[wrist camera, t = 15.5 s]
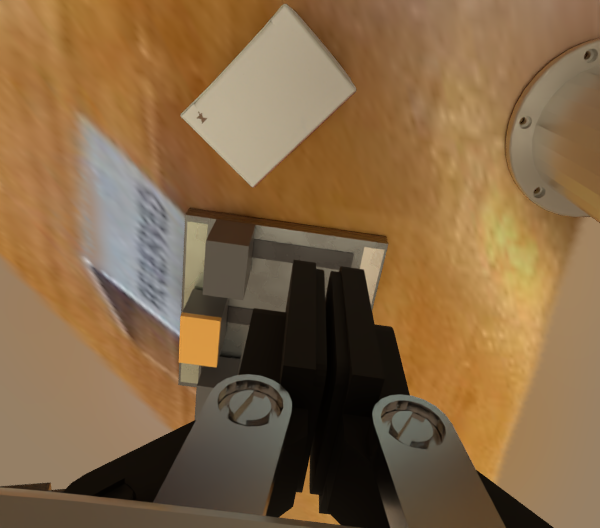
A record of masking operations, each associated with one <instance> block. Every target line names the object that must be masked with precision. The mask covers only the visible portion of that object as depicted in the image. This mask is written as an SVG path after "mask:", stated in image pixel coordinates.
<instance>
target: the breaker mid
mask: <svg viewBox="0 0 600 528" xmlns="http://www.w3.org/2000/svg"><path fill="white" fill-rule="evenodd" d="M202 294H203V290H196V289H193V290H192V292H191V294H190V297H189V299H188V301H187V303H186V305H185V307H184V310H183V312H182V314H181V318H180V343H179V363H186V364H194V365H201V366H209V367H216V368H217V364H218V361H219V357H220V354H221V350H222V347H223V343H224V340H225V334H226V323H227V312H228V300H229V298H223V297H215V296H208V295H202Z"/></svg>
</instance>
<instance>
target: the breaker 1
mask: <svg viewBox="0 0 600 528" xmlns="http://www.w3.org/2000/svg"><path fill="white" fill-rule="evenodd" d="M254 233H255V224H249V223H242V222H235V221H228V220H221V219H216V221H215V223H214V225H213V227H212V229H211V231H210V233H209V235H208V237H207V239H206V246H205V262H204V278H203V294H202V295H208V296H215V297H223V298H230V299H237V300H243V299H244V295H245V291H246V288H247V284H248V280H249V276H250V270H251V260H252V251H253V242H254Z"/></svg>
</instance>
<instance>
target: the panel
mask: <svg viewBox="0 0 600 528" xmlns="http://www.w3.org/2000/svg"><path fill="white" fill-rule="evenodd" d="M216 219H221V220H228V221H235V222H242V223H249V224H255V233H254V242H253V251H252V260H251V270H250V276H249V280H248V284H247V288H246V291H245V295H244V299H243V300H237V299H230V298H229V300H228V312H227V323H226V334H225V340H224V343H223V347H222V350H221V354H220V357H227V358H235V359H241V361H240V367H241V362H242V357H243V353H244V348H245V344H246V339H247V335H248V330H249V326H250V321H251V317H252V312H253V309H254V308H258V309H266V310H273V311H280V312H285V311H286V305H287V298H288V291H289V285H290V278H291V272H292V265H293V260H301V261H308V262H315V263H316V269H322V270H324V274H325V297H326V292H327V287H328V282H329V276H330V272H331V271H336V272H339V269H340V267H341V266H343V267H350V268H357V269H364V272H365V277H366V282H367V288H368V293H369V298H370V304H371V309H372V308H373V304H374V300H375V296H376V292H377V288H378V284H379V280H380V276H381V272H382V267H383V263H384V259H385V255H386V251H387V247H388V242H387V239H386V236H379V235H372V234H365V233H358V232H351V231H344V230H337V229H330V228H324V227H317V226H310V225H303V224H296V223H289V222H282V221H275V220H268V219H261V218H254V217H247V216H241V215H234V214H227V213H220V212H213V211H206V210H199V209H192V208H190V209H189V210H188V212H187V213H186V215H185V236H184V260H183V285H182V310H181V314H182V312H183V310H184V307H185V305H186V303H187V301H188V299H189V297H190V294H191V292H192V290H193V289H196V290H203V278H204V262H205V246H206V239H207V237H208V235H209V233H210V231H211V229H212V227H213V225H214V223H215V221H216ZM202 368H203V366H201V365H194V364H186V363H179V384H178V385H183V386H191V387H197V384H198V381H199V378H200V374H201V371H202ZM239 371H240V370H239Z"/></svg>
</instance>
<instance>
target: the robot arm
mask: <svg viewBox="0 0 600 528" xmlns="http://www.w3.org/2000/svg"><path fill="white" fill-rule="evenodd" d="M586 51H587V53H588V56H587V57H586V58H585V59H584V55H585V53H586ZM523 117H524V121H523V123H521V124H519V121H520V120H521V118H523ZM506 158H507V163H508V168H509V171H510V173H511V175H512V177H513V180H514V182H515V184H516V185H517V186H518V187H519V189H520V190H521V191H522V192H523V194H524V195H525V196H526V197H528V198H529V199H530V200H531V201H532V202H533V203H535V204H537V205H538V206H540V207H541V208H543V209H545V210H547V211H550V212H552V213H555V214H558V215H563V216H570V217H592V218H594V219H595V220H596V221H598V222H599V223H600V38H599V39H595V40H591V41H587V42H585V43H582V44H580V45H578V46H576V47H573V48H571V49H569V50H567V51H566V52H564V53H563V54H561V55H560V56H558V57H557V58H555V59H554V60H552V61H551V62H550V63H549V64H548V65H546V66H545V67H544V68H543V69H542V70H541V71H540V72H539V73H538V74H537V75H536V76H535V77H534V78H533V80H532V81H531V82H530V83H529V85H528V86H527V87H526V88H525V90H524V91H523V93H522V95H521V96H520V98H519V100H518V102H517V103H516V105H515V107H514V110H513V113H512V115H511V118H510V121H509V124H508V130H507V135H506ZM536 188H538V189H537V191H535V192H534V190H535V189H536ZM309 457H310V494H317V495H319V513H323V514H331V515H332V516H333V517H334V518H335V519H336V520H337V521H338V522H339V523H340V524H341V525H335V524H327V523H318V522H310V521H302V520H294V519H286V518H278V517H280V516H281V515H282V514H284V513H285V512H286V511H288V510H289V509H290V508H292V507H293V504H294V499H295V494H296V492H301V493H302V490H303V486H304V481H305V476H306V471H307V467H308V462H309ZM0 528H553V527H552V526H551V525H549V524H548V523H547V522H545V521H544V520H543V519H541V518H540V517H538V516H537V515H536V514H535V513H533V512H532V511H531V510H529V509H528V508H526V507H525V506H524V505H523V504H521V503H520V502H518V501H517V500H516V499H514V498H513V497H512V496H510V495H509V494H508V493H506V492H505V491H504V490H502V489H501V488H500V487H498V486H497V485H496V484H494V483H493V482H492V481H490V480H489V479H488V478H486V477H485V476H484V475H482V474H481V473H480V472H478V471H477V470H476V469H475V467H474V466H473V464H472V462H471V460H470V458H469V456H468V454H467V452H466V450H465V448H464V446H463V444H462V442H461V440H460V439H459V437H458V435H457V433H456V431H455V429H454V427H453V425H452V423H451V422H450V421H449V419H448V418H447V416H446V415H445V414H444V413H443V412H442V411H440V410H439V409H438V408H437V407H436V406H434V405H432V404H431V403H429V402H427V401H425V400H423V399H420V398H417V397H414V396H410V394H409V390H408V386H407V382H406V378H405V374H404V370H403V366H402V362H401V358H400V354H399V350H398V346H397V342H396V338H395V334H394V330H393V328H392V327H389V326H381V325H374V320H373V314H372V309H371V304H370V298H369V293H368V288H367V282H366V277H365V272H364V269H357V268H350V267H343V266H341V267H340V269H339V272H336V271H331V272H330V276H329V282H328V287H327V292H326V297H325V274H324V270H322V269H316V263H315V262H308V261H301V260H293V265H292V272H291V278H290V285H289V291H288V298H287V305H286V311H285V312H280V311H273V310H266V309H258V308H254V309H253V312H252V317H251V321H250V326H249V330H248V335H247V339H246V344H245V348H244V353H243V357H242V362H241V367H240V371H239V375H236V376H233V377H230V378H226V379H225V380H223V381H221V382H220V383H218V384H217V385H216V386H215V387H214V389H213V390H212V391H211V392H210V394H209V396H208V398H207V400H206V402H205V404H204V406H203V408H202V410H201V412H200V413H199V415H198V417H197V419H196V420H195V421H192V422H190V423H188V424H186V425H184V426H182V427H180V428H178V429H176V430H174V431H172V432H170V433H168V434H166V435H164V436H162V437H160V438H158V439H156V440H154V441H152V442H150V443H148V444H146V445H144V446H142V447H140V448H138V449H136V450H134V451H132V452H129V453H127V454H126V455H123V456H121V457H119V458H117V459H115V460H113V461H111V462H109V463H107V464H105V465H103V466H101V467H99V468H97V469H95V470H93V471H91V472H89V473H87V474H85V475H84V476H82V477H80V478H79V479H77V480H76V481H74V482H72V483H71V484H70V485H69V486H68V487H67V488H66V489H58V490H51V483H38V484H25V485H11V486H0Z"/></svg>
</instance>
